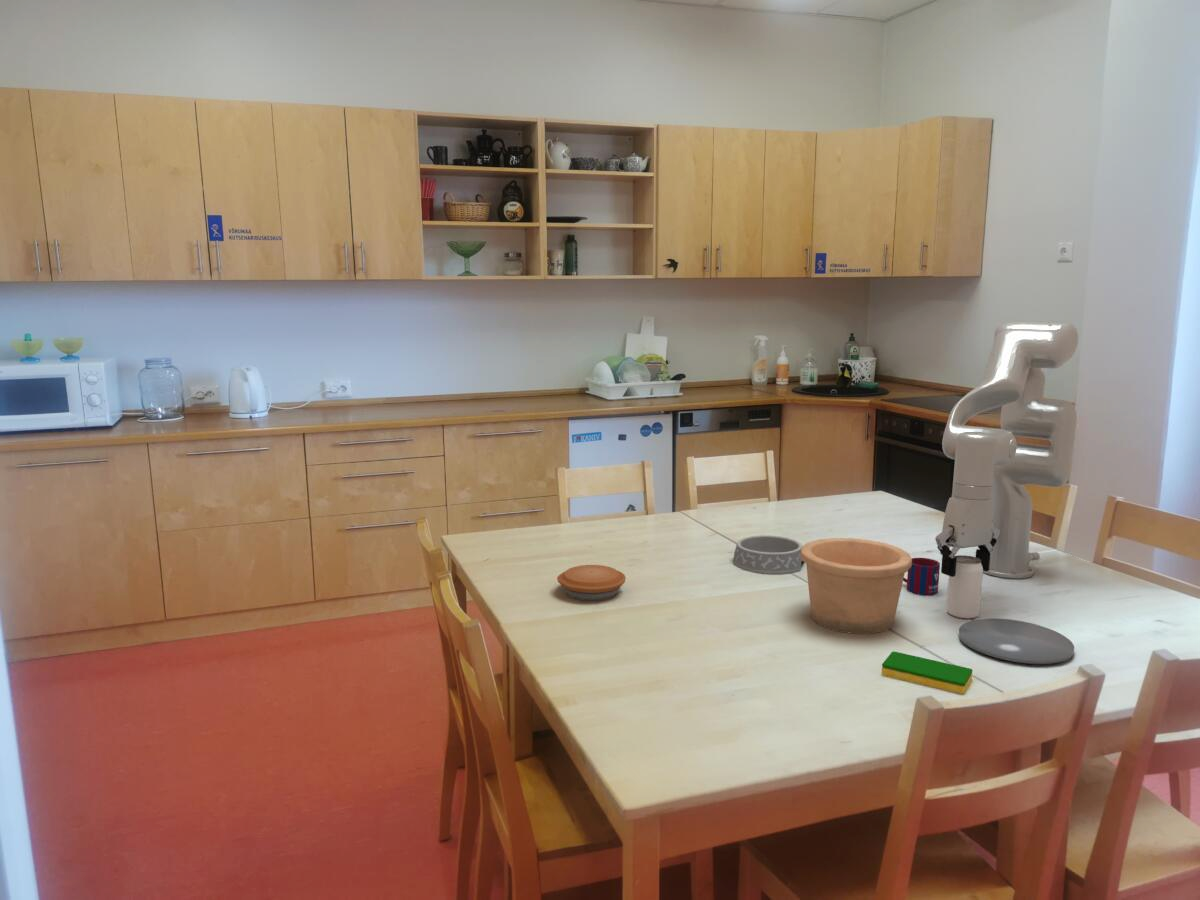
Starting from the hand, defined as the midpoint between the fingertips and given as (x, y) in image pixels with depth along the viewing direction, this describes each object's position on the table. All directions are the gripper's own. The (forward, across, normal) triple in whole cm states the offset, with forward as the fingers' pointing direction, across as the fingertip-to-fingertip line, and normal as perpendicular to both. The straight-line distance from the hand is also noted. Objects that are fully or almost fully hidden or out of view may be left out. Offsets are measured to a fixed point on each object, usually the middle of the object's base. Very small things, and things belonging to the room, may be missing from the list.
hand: (965, 572), depth 179 cm
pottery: (+10, +22, -8) cm, 26 cm away
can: (+10, -1, 0) cm, 10 cm away
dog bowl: (+10, +15, -46) cm, 50 cm away
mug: (+9, -4, -16) cm, 19 cm away
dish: (+10, +3, +16) cm, 19 cm away
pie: (+11, +64, -46) cm, 80 cm away
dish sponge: (+11, +29, +19) cm, 36 cm away
